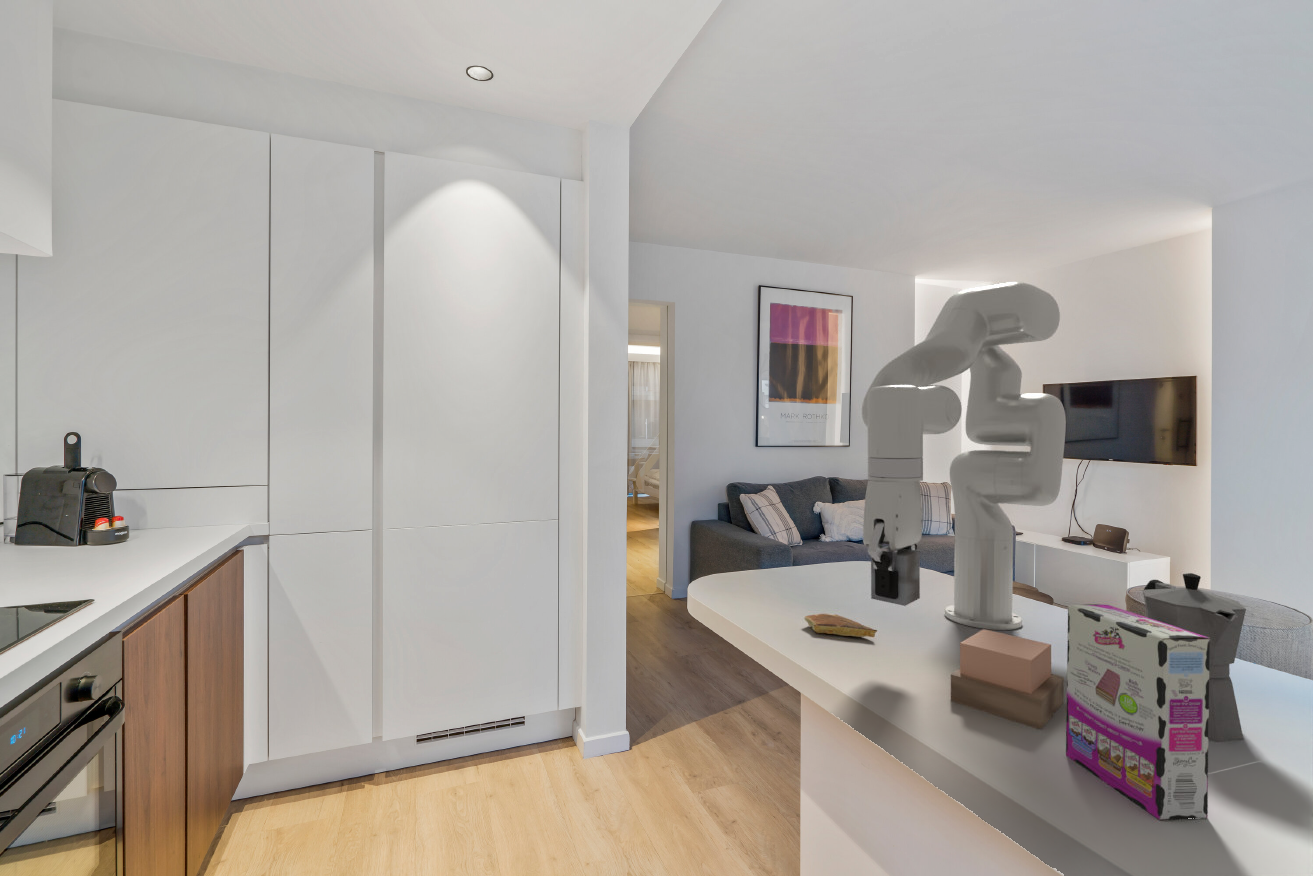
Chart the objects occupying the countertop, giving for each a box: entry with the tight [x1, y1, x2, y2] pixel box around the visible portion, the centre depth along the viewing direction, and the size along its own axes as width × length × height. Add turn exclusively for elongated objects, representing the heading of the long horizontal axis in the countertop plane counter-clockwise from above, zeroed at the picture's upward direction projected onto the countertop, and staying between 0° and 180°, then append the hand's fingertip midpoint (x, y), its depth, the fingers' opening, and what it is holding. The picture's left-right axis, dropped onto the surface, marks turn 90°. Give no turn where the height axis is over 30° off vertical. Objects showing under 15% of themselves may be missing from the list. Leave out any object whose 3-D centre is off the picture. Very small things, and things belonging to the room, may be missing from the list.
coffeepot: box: [1142, 572, 1247, 743], centre depth 71 cm, size 15×9×18 cm, turn 167°
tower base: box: [950, 667, 1065, 730], centre depth 75 cm, size 10×10×4 cm
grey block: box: [870, 545, 921, 607], centre depth 87 cm, size 5×5×7 cm
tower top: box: [959, 629, 1052, 694], centre depth 76 cm, size 8×8×4 cm
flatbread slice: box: [804, 613, 878, 638], centre depth 101 cm, size 11×8×2 cm
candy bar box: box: [1065, 603, 1210, 822], centre depth 58 cm, size 11×5×16 cm, turn 5°
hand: (895, 591), depth 87 cm, fingers closed on grey block, 5 cm apart
